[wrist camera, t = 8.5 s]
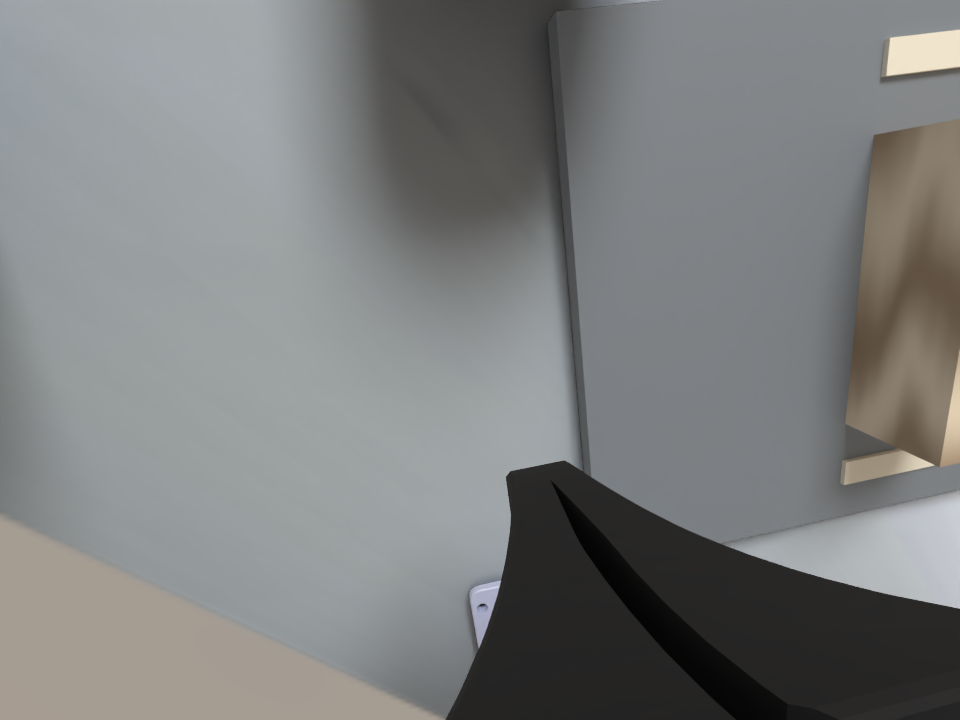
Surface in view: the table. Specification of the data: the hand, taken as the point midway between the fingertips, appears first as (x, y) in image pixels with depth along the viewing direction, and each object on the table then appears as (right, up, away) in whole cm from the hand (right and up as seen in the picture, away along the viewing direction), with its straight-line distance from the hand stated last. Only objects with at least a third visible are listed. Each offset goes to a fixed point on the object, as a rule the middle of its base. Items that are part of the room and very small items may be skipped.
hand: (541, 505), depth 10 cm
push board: (+16, +7, +10) cm, 20 cm away
